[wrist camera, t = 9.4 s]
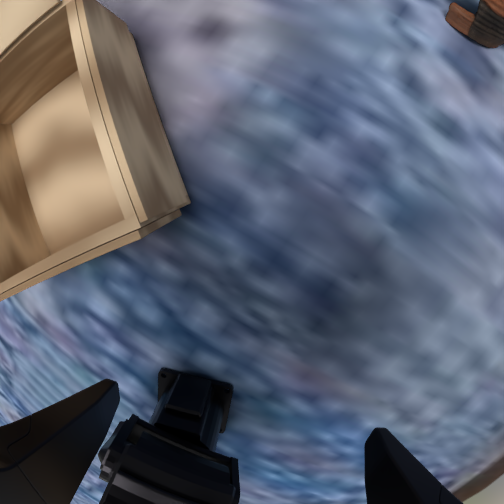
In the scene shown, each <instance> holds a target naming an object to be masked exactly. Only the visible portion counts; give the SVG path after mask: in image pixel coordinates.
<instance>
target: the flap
mask: <svg viewBox="0 0 504 504" xmlns="http://www.w3.org/2000/svg"><path fill="white" fill-rule="evenodd" d="M60 2H61V1H60V0H0V55H1V54H2V53H3V52H4V51H5V50H6V49H7V48H8V47H9V46H10V45H11V44H12V43H13V42H14V41H15V40H16V39H17V38H18V37H19V36H20V35H22V34H23V33H24V32H25V31H26V30H27V29H28V28H29V27H30V26H32V25H33V24H34V23H35V22H36V21H37V20H38V19H40V18H41V17H42V16H43V15H45V14H46V13H47V12H48V11H49V10H51V9H52V8H53V7H55V6H56V5H57V4H58V3H60Z"/></svg>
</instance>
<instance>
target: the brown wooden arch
mask: <svg viewBox="0 0 504 504" xmlns="http://www.w3.org/2000/svg"><path fill="white" fill-rule="evenodd" d="M445 20H446V21H447V22H448V23H449V24H451V25H452V26H453V27H454V28H456V29H457V30H458V31H460V32H462V33H463V34H465V35H467V36H468V37H469V38H471V39H473V40H475V41H476V42H477V43H479V44H482V45H484V46H486V47H489V48H496V47H498V46H499V45H502V44H504V0H480V2H479V7H478V11H477V12H476V14H473V13H471V12H468V11H467V10H466V9H464V8H462V7H461V6H459V5H458V4H456V3H451V4H450V6H449V11H448V13H447V16H446V18H445Z"/></svg>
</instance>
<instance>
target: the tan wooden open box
mask: <svg viewBox="0 0 504 504" xmlns="http://www.w3.org/2000/svg"><path fill="white" fill-rule="evenodd" d="M190 203H191V201H190V199H189V196H188V194H187V191H186V188H185V186H184V183H183V180H182V178H181V175H180V172H179V170H178V167H177V164H176V161H175V159H174V156H173V153H172V150H171V148H170V145H169V142H168V139H167V136H166V134H165V131H164V128H163V125H162V122H161V119H160V117H159V114H158V111H157V108H156V105H155V102H154V99H153V96H152V93H151V90H150V87H149V84H148V81H147V78H146V75H145V72H144V69H143V66H142V63H141V60H140V57H139V54H138V51H137V48H136V44H135V41H134V38H133V35H132V33H130V32H129V30H128V27H127V24H126V23H125V22H124V21H122V20H121V19H120V18H118V17H117V16H116V15H115V14H113V13H112V12H111V11H109V10H108V9H107V8H105V7H104V6H103V5H101V4H100V3H99V2H97V1H96V0H62V1H61V2H60V3H58V4H57V5H56V6H55V7H53V8H52V9H51V10H49V11H48V12H47V13H46V14H45V15H43V16H42V17H41V18H40V19H38V20H37V21H36V22H35V23H34V24H33V25H32V26H30V27H29V28H28V29H27V30H26V31H25V32H24V33H23V34H22V35H20V36H19V37H18V38H17V39H16V40H15V41H14V42H13V43H12V44H11V45H10V46H9V47H8V48H7V49H6V50H5V51H4V52H3V53H2V54H1V55H0V301H2V300H4V299H6V298H8V297H10V296H12V295H15V294H17V293H19V292H21V291H23V290H25V289H27V288H29V287H31V286H33V285H36V284H38V283H40V282H42V281H44V280H46V279H48V278H51V277H53V276H55V275H57V274H59V273H62V272H64V271H66V270H68V269H71V268H73V267H75V266H77V265H80V264H82V263H84V262H87V261H89V260H91V259H94V258H96V257H98V256H101V255H103V254H105V253H108V252H110V251H112V250H115V249H117V248H120V247H122V246H124V245H127V244H129V243H132V242H134V241H137V240H139V239H141V238H143V237H145V236H147V235H148V234H150V233H152V232H153V231H155V230H157V229H158V228H160V227H162V226H164V225H165V224H167V223H169V222H171V221H172V220H174V219H176V218H178V217H180V216H181V215H182V214H181V211H180V209H179V208H182V207H184V206H186V205H188V204H190ZM177 209H179V210H177ZM175 210H176V211H175ZM173 211H174V212H173Z"/></svg>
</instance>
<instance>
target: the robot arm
mask: <svg viewBox="0 0 504 504" xmlns="http://www.w3.org/2000/svg"><path fill="white" fill-rule="evenodd" d="M163 373H164V374H166V375H164V374H163ZM226 389H229V390H226ZM232 394H233V386H232V385H230V384H227V383H222V382H217V381H213V380H208V379H204V378H200V377H196V376H191V375H187V374H183V373H180V372H176V371H172V370H168V369H164V368H163V369H161V370H160V371H159V373H158V404H157V406H156V408H155V410H154V413H153V415H152V417H151V419H150V421H149V423H147V422H146V421H144V420H142V419H140V418H139V417H138V416H136V415H134V414H132V416H131V417H130V419H129V420H127V419H126V421H125V422H122V421H120V422H119V424H118V426H117V428H116V429H115V431H114V433H113V434H112V436H111V437H110V438H109V440H108V441H107V442H106V443H105V444H104V446H103V447H102V448H101V449H100V451H99V453H98V457H99V459H100V462H101V467H100V469H101V473H100V476H99V478H100V479H102V480H104V481H106V482H108V485H107V487H106V489H105V491H104V494H103V496H102V498H101V500H100V503H99V504H238V503H239V499H240V483H239V470H238V459H236V458H233V457H227V456H224V455H222V454H219V453H216V452H215V449H216V445H217V440H218V436H219V433H223V432H224V431H225V427H226V423H227V418H228V413H229V408H230V403H231V398H232ZM119 401H120V396H119V388H118V383H117V382H116V381H113V380H110V379H104V380H102V381H100V382H98V383H96V384H94V385H92V386H90V387H88V388H86V389H84V390H82V391H80V392H78V393H76V394H74V395H72V396H70V397H68V398H66V399H63V400H61V401H59V402H57V403H55V404H53V405H51V406H49V407H46V408H44V409H42V410H40V411H38V412H36V413H34V414H32V416H31V415H29V416H27V417H25V418H22V419H20V420H17V421H15V422H13V423H10V424H7V425H4V426H1V427H0V504H70V503H71V501H72V499H73V497H74V495H75V493H76V491H77V489H78V487H79V485H80V483H81V481H82V480H83V478H84V476H85V474H86V472H87V470H88V468H89V466H90V465H91V463H92V461H93V459H94V457H95V455H96V454H97V452H98V450H99V448H100V446H101V444H102V443H103V441H104V439H105V437H106V435H107V432H108V430H109V427H110V425H111V422H112V420H113V417H114V415H115V412H116V410H117V407H118V405H119ZM365 488H366V497H367V504H463V503H462V502H461V501H460V500H458V499H457V498H456V497H455V496H454V495H453V494H452V493H451V492H449V491H448V490H447V489H446V488H445V487H444V486H443V485H442V484H441V483H440V482H439V481H438V480H437V479H436V478H435V477H434V476H433V475H432V474H431V473H430V472H429V471H428V470H427V469H426V468H425V467H424V466H423V465H422V464H421V463H420V462H419V461H418V460H417V459H416V458H415V457H414V456H413V455H412V454H411V453H410V452H409V451H408V450H407V449H406V448H405V447H404V446H403V445H402V444H401V443H400V442H399V441H398V440H397V439H396V438H395V437H394V436H393V435H392V434H391V433H390V431H389V430H388V429H386V428H375V429H374V430H373V431H372V433H371V434H370V436H369V437H368V439H367V440H366V443H365Z"/></svg>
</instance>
